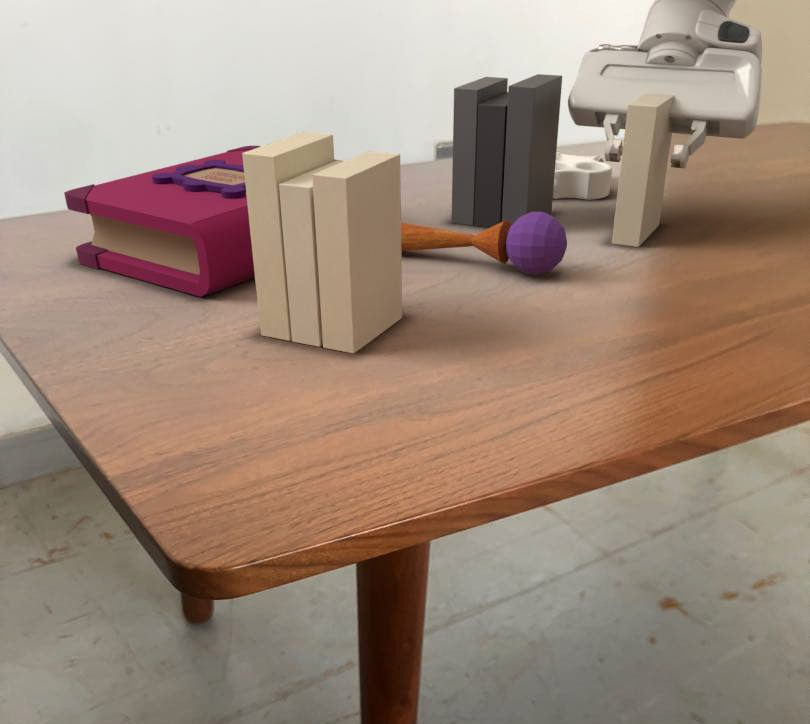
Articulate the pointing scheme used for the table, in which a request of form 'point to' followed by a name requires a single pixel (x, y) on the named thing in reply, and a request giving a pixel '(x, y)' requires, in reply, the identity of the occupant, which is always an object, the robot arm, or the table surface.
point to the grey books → (504, 149)
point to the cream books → (324, 241)
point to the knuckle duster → (581, 177)
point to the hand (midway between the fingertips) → (644, 161)
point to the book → (172, 224)
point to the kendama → (500, 241)
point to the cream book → (643, 169)
